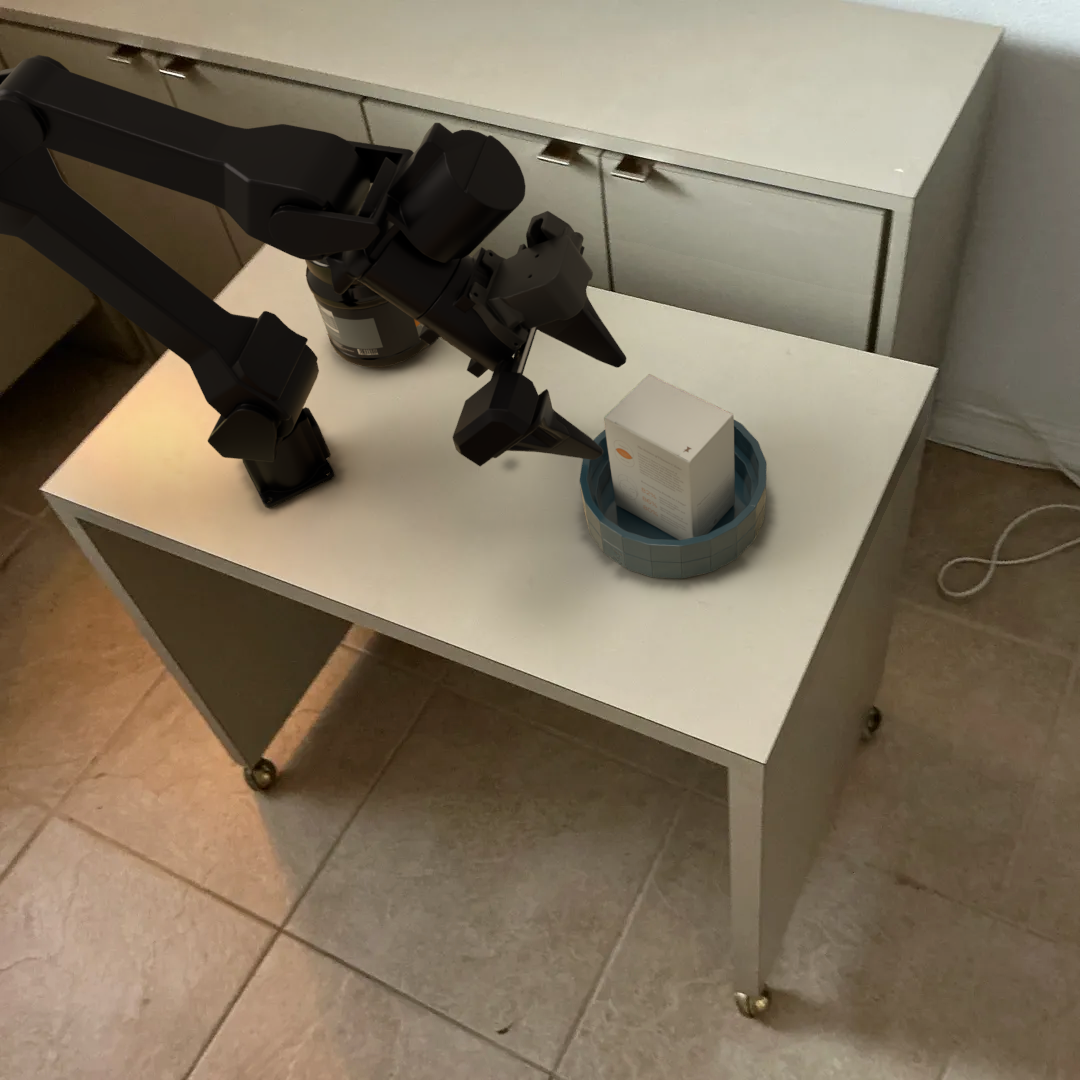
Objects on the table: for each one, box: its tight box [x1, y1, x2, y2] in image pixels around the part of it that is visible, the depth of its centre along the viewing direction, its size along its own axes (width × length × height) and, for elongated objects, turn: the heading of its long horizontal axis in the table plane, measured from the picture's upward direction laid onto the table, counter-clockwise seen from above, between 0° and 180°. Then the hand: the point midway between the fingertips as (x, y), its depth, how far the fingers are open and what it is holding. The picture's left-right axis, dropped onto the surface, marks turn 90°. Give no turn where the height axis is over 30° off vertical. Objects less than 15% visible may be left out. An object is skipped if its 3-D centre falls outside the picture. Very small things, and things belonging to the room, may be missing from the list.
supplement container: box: [304, 257, 429, 368], centre depth 102 cm, size 10×10×12 cm
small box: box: [603, 373, 735, 540], centre depth 85 cm, size 8×6×10 cm
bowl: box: [579, 419, 768, 579], centre depth 88 cm, size 14×14×4 cm
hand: (611, 408), depth 82 cm, fingers open, 9 cm apart
